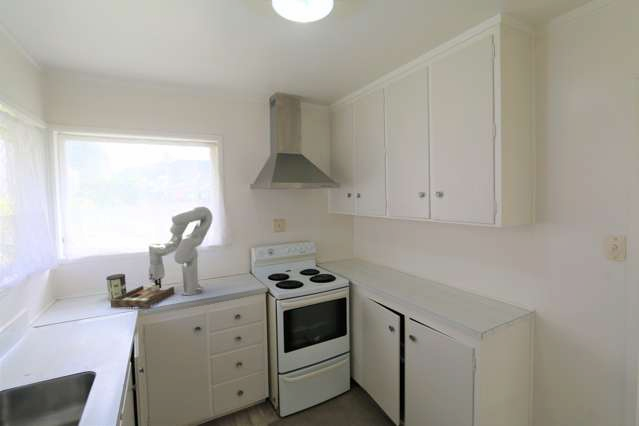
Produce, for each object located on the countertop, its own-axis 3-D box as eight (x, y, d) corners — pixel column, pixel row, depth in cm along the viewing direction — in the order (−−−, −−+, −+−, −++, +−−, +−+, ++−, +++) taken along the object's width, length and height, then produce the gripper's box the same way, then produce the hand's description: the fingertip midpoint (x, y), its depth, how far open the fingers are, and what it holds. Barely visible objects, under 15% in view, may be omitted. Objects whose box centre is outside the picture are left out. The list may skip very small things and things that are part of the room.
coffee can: (122, 292, 201) (120, 273, 200) (129, 295, 196) (128, 275, 194) (105, 297, 193) (103, 277, 191) (112, 300, 187) (110, 279, 186)
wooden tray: (174, 293, 198) (173, 286, 197) (146, 308, 173) (146, 301, 172) (142, 292, 201) (141, 285, 201) (111, 307, 177) (110, 300, 176)
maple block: (159, 290, 197) (159, 285, 197) (154, 293, 192) (153, 287, 192) (152, 290, 198) (152, 284, 198) (147, 293, 193) (147, 287, 193)
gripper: (159, 259, 206) (161, 284, 208) (143, 265, 192) (145, 292, 193) (168, 259, 205) (170, 284, 207) (153, 265, 190) (155, 292, 192)
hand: (158, 288), depth 200 cm, fingers closed
